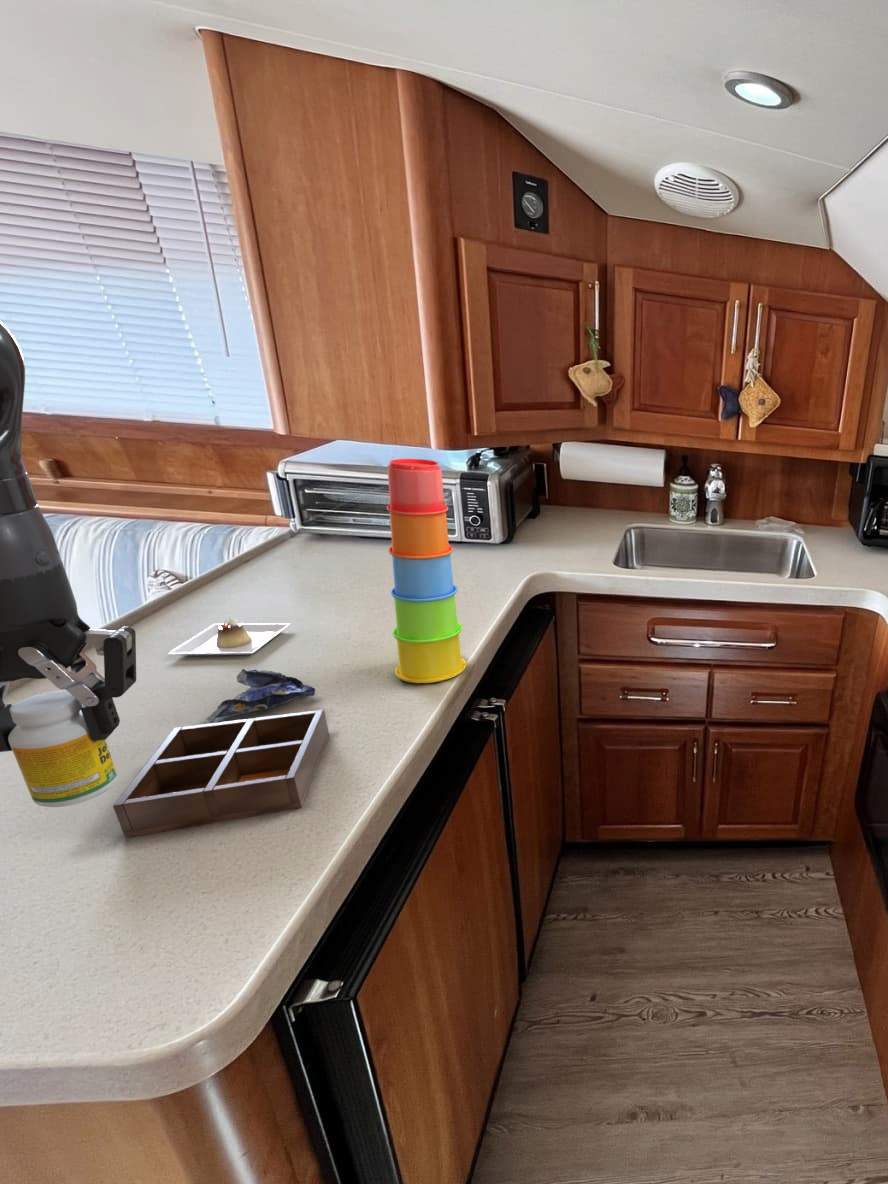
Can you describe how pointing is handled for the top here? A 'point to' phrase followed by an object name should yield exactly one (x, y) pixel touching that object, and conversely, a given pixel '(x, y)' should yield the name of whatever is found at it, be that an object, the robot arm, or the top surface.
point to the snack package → (262, 693)
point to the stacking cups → (422, 574)
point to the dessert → (230, 639)
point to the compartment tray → (224, 772)
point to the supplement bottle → (58, 751)
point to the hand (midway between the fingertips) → (58, 740)
